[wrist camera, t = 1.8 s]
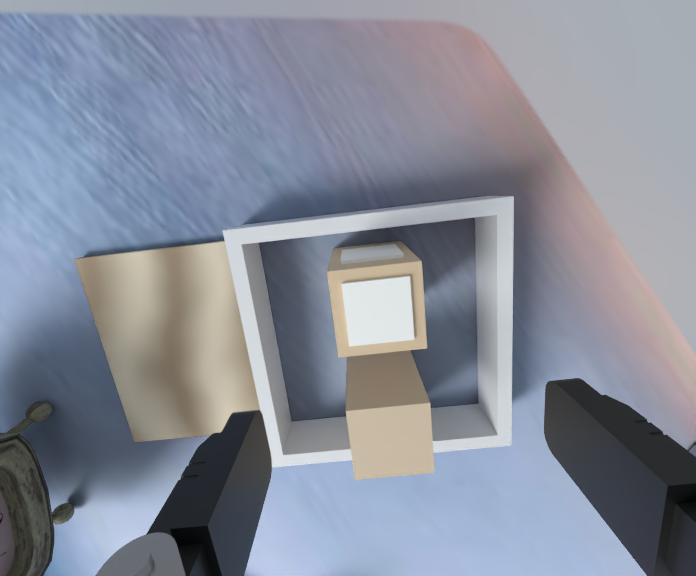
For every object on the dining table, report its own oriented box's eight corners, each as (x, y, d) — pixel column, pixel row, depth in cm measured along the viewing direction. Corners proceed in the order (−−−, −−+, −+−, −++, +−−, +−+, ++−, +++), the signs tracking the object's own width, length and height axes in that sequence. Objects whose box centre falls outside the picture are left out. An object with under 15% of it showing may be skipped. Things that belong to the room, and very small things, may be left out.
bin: (488, 195, 25) (513, 196, 21) (490, 412, 30) (511, 445, 26) (241, 224, 25) (222, 230, 22) (282, 432, 30) (272, 467, 26)
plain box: (408, 344, 28) (430, 402, 20) (412, 399, 29) (434, 472, 22) (346, 351, 28) (345, 410, 20) (353, 404, 30) (354, 479, 22)
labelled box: (400, 237, 26) (422, 257, 18) (405, 304, 27) (427, 350, 19) (333, 245, 26) (326, 268, 18) (341, 310, 27) (338, 359, 19)
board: (237, 239, 26) (234, 240, 25) (274, 423, 30) (272, 429, 29) (82, 257, 26) (74, 259, 25) (140, 436, 30) (134, 442, 30)
